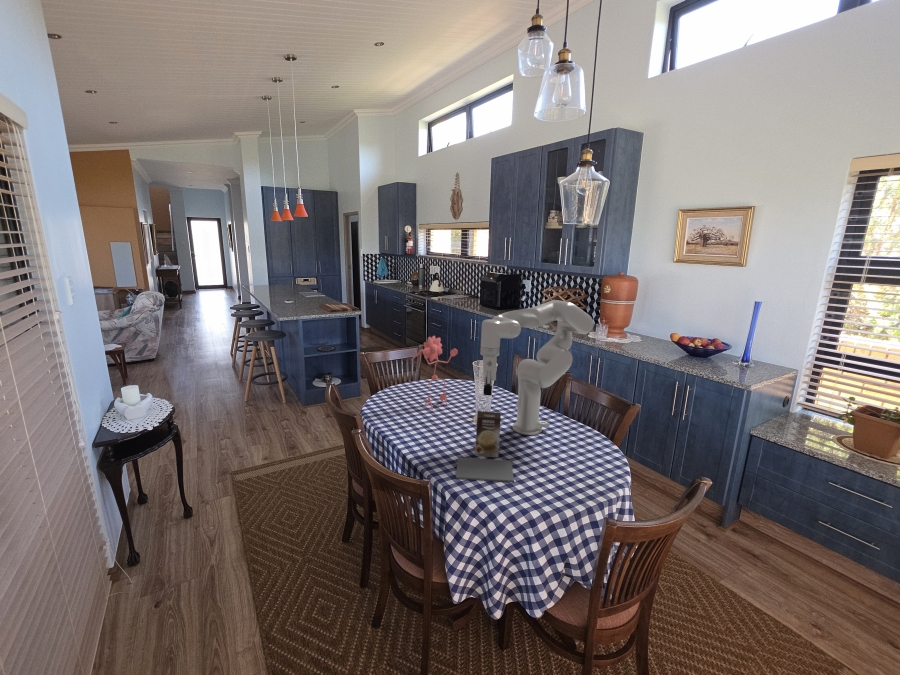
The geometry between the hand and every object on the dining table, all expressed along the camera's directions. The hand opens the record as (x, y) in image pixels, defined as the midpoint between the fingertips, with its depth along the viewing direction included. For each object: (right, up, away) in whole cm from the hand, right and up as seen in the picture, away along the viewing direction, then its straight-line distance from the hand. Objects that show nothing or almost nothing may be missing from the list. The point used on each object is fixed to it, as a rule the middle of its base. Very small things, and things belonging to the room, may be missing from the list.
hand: (487, 394), depth 178 cm
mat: (-3, -25, -20) cm, 32 cm away
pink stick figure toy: (-24, -10, +42) cm, 50 cm away
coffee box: (-1, -22, -7) cm, 23 cm away
